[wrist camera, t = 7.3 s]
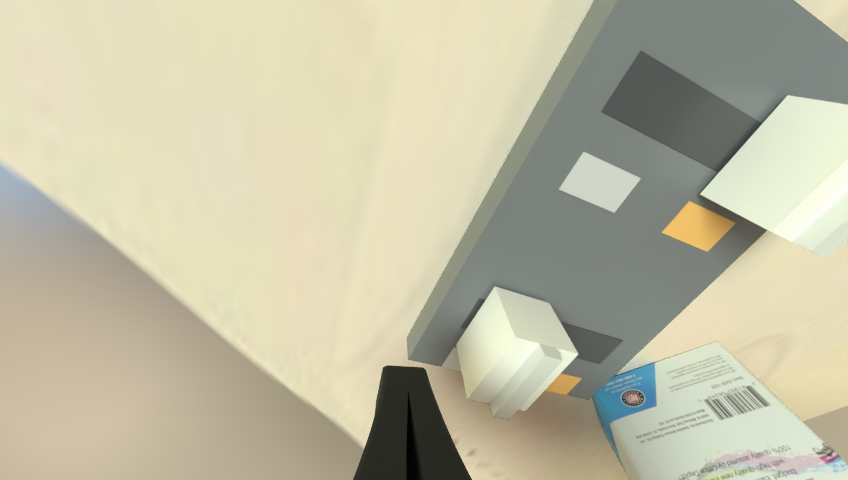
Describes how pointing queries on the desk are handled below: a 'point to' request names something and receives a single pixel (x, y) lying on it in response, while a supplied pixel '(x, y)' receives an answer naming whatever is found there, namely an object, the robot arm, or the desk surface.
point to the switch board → (630, 175)
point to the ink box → (708, 424)
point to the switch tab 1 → (512, 352)
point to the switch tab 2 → (793, 175)
